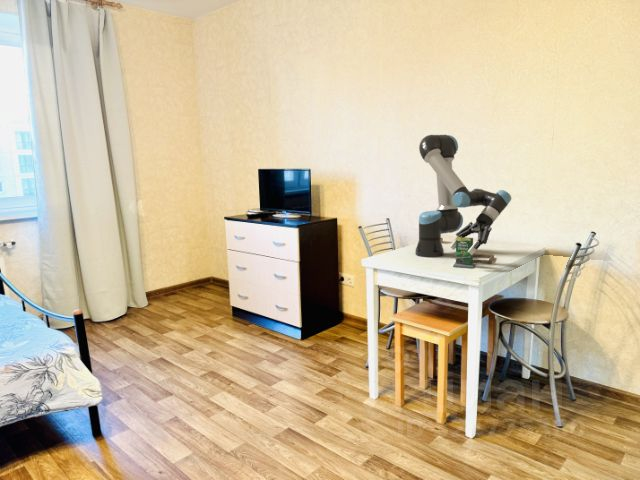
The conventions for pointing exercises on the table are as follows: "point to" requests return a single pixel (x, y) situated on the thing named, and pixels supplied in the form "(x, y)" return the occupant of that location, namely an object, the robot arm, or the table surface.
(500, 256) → the table surface
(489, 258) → the brown flat square frame
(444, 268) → the table surface
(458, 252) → the coffee box
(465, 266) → the mat
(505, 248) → the table surface
